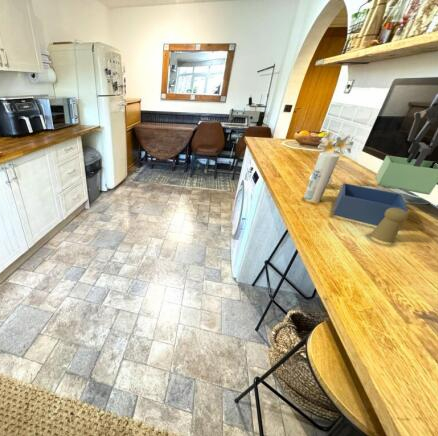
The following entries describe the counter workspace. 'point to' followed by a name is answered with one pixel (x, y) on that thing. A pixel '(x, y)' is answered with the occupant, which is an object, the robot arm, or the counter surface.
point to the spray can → (321, 176)
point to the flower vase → (341, 144)
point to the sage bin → (409, 173)
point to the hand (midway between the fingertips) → (413, 162)
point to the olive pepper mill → (390, 225)
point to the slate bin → (366, 203)
